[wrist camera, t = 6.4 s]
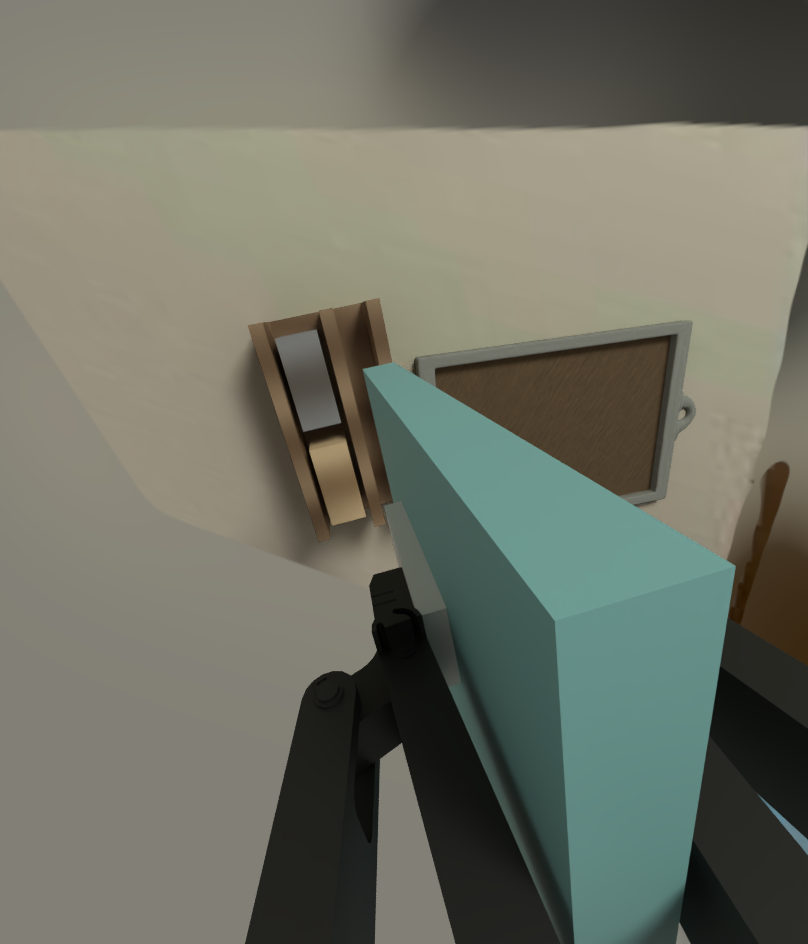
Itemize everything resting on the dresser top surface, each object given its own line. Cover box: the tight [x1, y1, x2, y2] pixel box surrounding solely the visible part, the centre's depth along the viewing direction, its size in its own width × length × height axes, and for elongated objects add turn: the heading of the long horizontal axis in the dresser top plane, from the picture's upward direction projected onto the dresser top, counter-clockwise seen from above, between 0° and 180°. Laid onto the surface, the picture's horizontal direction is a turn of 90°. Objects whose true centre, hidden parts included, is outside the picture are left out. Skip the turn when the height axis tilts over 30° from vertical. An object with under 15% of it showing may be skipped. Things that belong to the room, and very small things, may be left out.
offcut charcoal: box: [275, 329, 341, 432], centre depth 31 cm, size 7×3×4 cm, turn 12°
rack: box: [248, 298, 393, 542], centre depth 34 cm, size 18×9×5 cm, turn 12°
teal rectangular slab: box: [363, 362, 735, 944], centre depth 14 cm, size 12×2×18 cm, turn 12°
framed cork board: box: [415, 321, 696, 505], centre depth 41 cm, size 19×2×30 cm
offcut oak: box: [309, 429, 366, 526], centre depth 35 cm, size 7×3×4 cm, turn 12°
